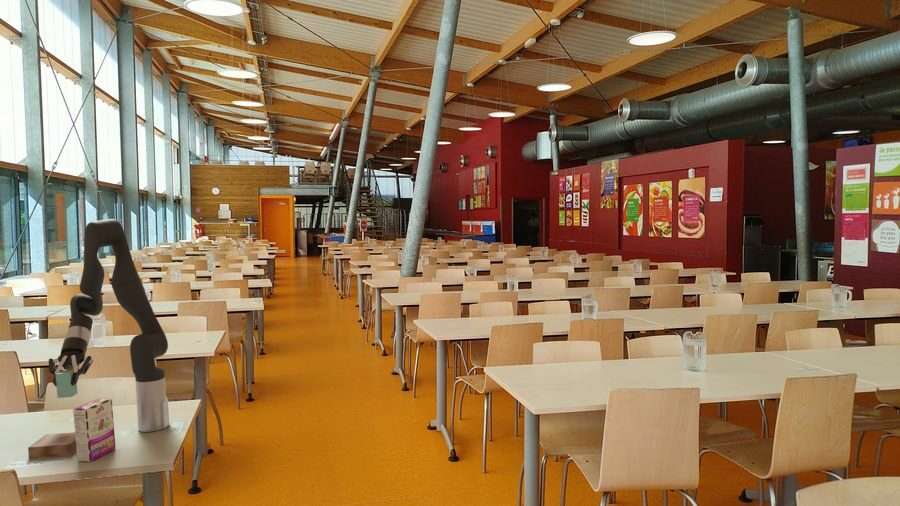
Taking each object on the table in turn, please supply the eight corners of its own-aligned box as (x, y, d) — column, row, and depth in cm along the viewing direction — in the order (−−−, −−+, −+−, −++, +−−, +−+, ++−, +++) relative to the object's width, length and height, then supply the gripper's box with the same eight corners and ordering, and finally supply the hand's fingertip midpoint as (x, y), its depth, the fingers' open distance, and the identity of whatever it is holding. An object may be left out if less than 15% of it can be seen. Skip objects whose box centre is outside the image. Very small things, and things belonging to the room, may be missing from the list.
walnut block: (86, 443, 216) (85, 431, 216) (71, 456, 204) (70, 444, 204) (46, 446, 214) (45, 434, 214) (29, 460, 202) (28, 447, 202)
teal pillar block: (77, 393, 225) (75, 370, 224) (72, 396, 220) (70, 373, 220) (63, 394, 224) (61, 371, 223) (57, 398, 219) (55, 374, 219)
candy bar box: (102, 448, 210) (99, 397, 208) (116, 449, 209) (113, 398, 207) (75, 461, 199) (72, 408, 198) (90, 462, 198) (86, 408, 197)
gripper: (50, 337, 227) (36, 380, 216) (94, 334, 229) (83, 377, 218) (57, 349, 233) (45, 392, 221) (101, 346, 235) (90, 389, 224)
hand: (64, 384), depth 220 cm, fingers closed on teal pillar block, 4 cm apart
